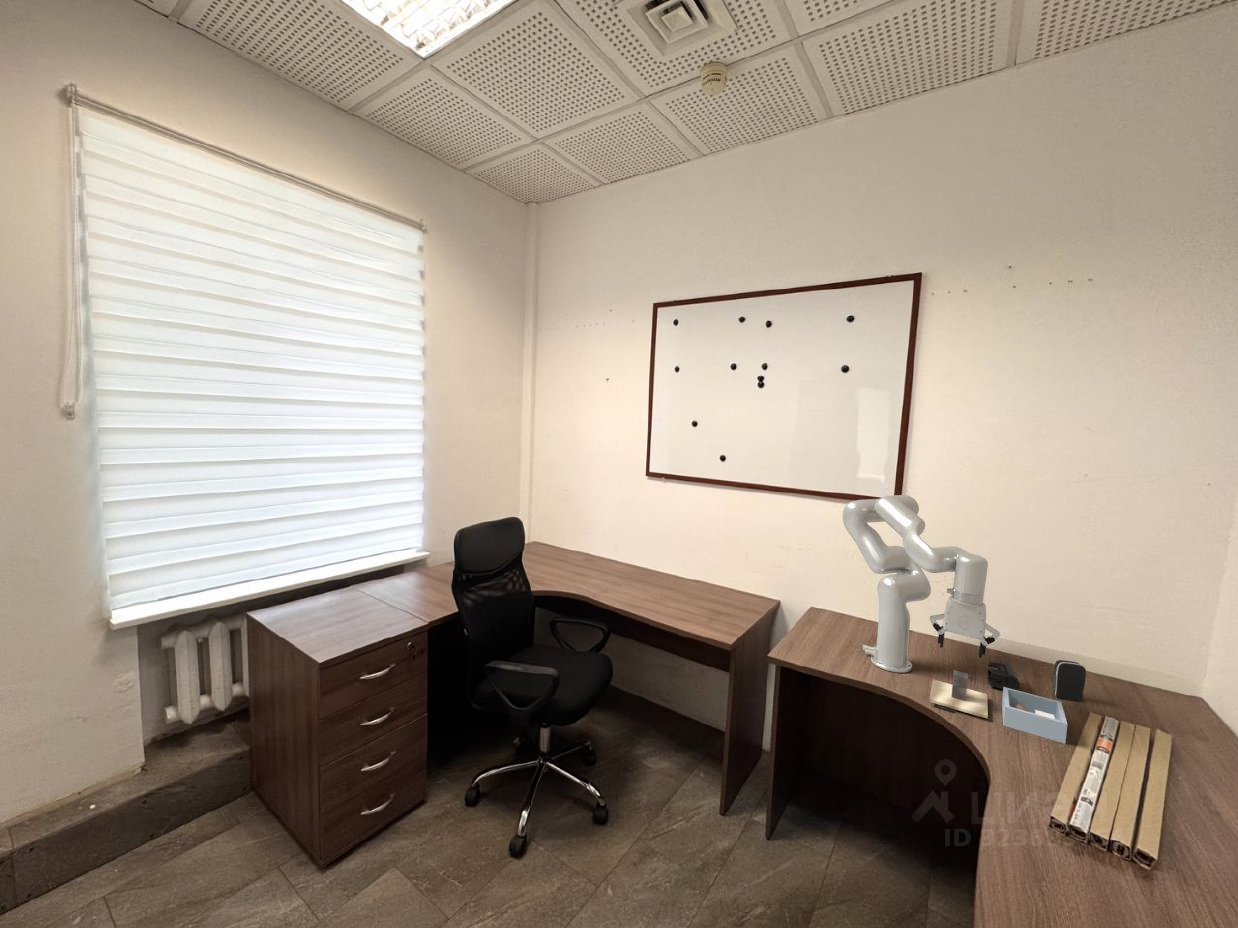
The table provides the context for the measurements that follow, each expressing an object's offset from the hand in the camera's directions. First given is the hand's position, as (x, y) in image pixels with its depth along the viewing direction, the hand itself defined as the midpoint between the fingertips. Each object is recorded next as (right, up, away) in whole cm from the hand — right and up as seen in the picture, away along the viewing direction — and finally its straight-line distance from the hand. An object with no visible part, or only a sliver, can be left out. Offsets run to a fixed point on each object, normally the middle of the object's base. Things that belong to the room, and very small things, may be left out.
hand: (960, 650), depth 151 cm
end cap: (+21, -16, +11) cm, 28 cm away
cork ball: (+13, -15, -6) cm, 21 cm away
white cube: (+15, -17, -12) cm, 26 cm away
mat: (0, -16, +1) cm, 16 cm away
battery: (+36, -17, +5) cm, 40 cm away
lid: (0, -15, +1) cm, 15 cm away
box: (+14, -17, -9) cm, 24 cm away
